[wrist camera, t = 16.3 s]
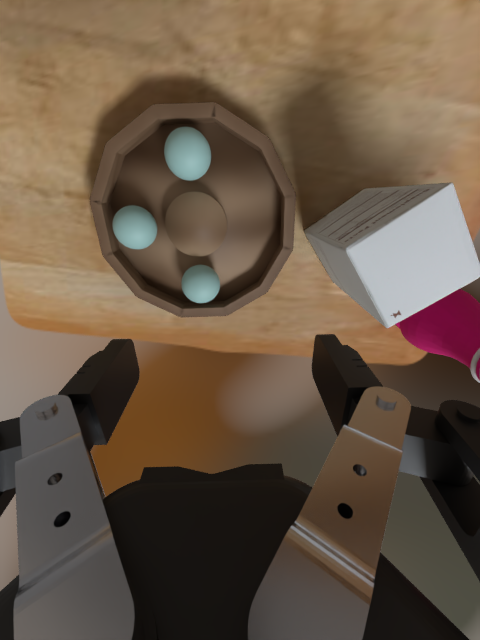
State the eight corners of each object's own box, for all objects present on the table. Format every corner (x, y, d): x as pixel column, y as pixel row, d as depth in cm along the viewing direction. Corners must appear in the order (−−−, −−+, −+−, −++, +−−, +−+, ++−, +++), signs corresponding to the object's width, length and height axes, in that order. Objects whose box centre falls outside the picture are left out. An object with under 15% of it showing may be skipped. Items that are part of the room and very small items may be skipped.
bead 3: (187, 296, 31) (180, 309, 28) (183, 261, 30) (175, 270, 26) (222, 295, 31) (220, 308, 28) (219, 260, 29) (217, 269, 26)
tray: (85, 116, 25) (67, 106, 22) (293, 110, 25) (300, 99, 22) (127, 309, 33) (117, 319, 30) (285, 303, 33) (289, 313, 30)
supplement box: (392, 246, 30) (488, 278, 19) (331, 283, 32) (386, 332, 20) (365, 185, 28) (457, 178, 16) (301, 228, 29) (343, 250, 18)
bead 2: (169, 135, 25) (154, 120, 21) (212, 133, 25) (205, 117, 21) (173, 184, 26) (160, 177, 23) (215, 182, 26) (209, 175, 22)
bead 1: (118, 205, 27) (100, 206, 23) (158, 204, 27) (146, 205, 23) (126, 246, 29) (110, 253, 25) (164, 245, 29) (154, 252, 25)
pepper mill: (377, 331, 35) (534, 482, 16) (389, 275, 32) (598, 384, 13) (433, 329, 35) (654, 478, 16) (451, 273, 32) (744, 380, 13)
